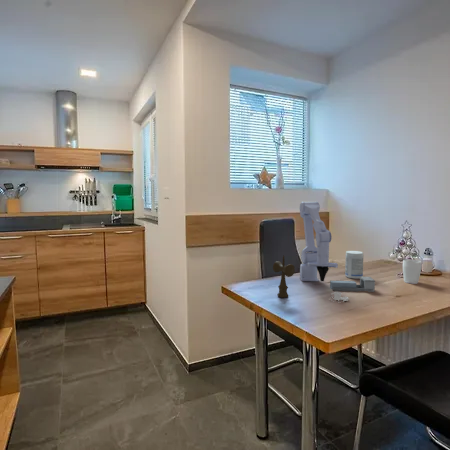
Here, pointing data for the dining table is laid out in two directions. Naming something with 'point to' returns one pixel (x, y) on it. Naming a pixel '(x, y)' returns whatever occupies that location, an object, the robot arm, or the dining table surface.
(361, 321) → the dining table surface
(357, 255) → the supplement tub
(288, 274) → the kendama
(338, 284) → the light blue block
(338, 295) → the teacup and saucer
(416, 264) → the cup
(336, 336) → the dining table surface
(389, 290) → the dining table surface
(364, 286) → the track
